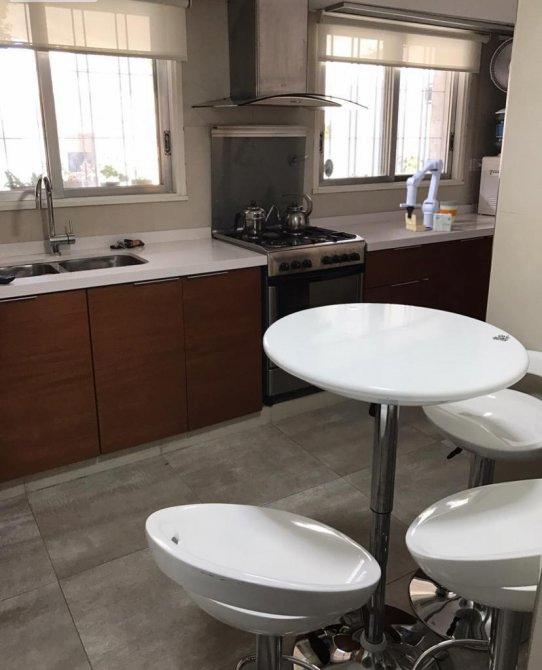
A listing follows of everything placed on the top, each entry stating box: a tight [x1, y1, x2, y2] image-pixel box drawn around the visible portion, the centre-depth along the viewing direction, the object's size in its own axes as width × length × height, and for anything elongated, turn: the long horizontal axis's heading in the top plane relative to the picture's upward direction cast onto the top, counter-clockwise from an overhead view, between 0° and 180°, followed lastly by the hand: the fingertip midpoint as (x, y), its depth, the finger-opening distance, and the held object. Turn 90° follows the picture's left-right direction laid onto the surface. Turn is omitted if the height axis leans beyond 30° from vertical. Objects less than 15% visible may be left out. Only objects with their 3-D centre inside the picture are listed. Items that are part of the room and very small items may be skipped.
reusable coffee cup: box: [439, 199, 459, 223], centre depth 422 cm, size 13×13×15 cm
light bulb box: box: [432, 213, 452, 232], centre depth 384 cm, size 11×7×11 cm, turn 84°
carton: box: [405, 222, 427, 232], centre depth 387 cm, size 13×7×4 cm, turn 17°
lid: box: [405, 212, 417, 226], centre depth 385 cm, size 13×6×1 cm
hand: (409, 218), depth 384 cm, fingers closed, pressing on lid
